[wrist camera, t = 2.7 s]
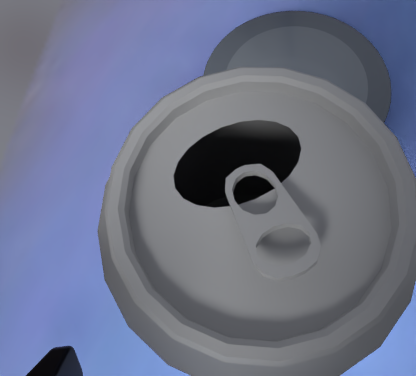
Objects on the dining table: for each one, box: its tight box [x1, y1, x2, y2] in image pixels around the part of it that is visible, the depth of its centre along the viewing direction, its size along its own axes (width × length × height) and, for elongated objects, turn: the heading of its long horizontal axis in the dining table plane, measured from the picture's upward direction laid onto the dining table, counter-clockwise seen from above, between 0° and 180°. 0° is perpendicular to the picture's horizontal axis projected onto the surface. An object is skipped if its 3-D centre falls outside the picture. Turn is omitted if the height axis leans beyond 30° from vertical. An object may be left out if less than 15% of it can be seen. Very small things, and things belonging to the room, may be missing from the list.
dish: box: [203, 11, 391, 123], centre depth 21 cm, size 10×10×1 cm
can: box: [98, 67, 416, 376], centre depth 13 cm, size 8×8×12 cm
